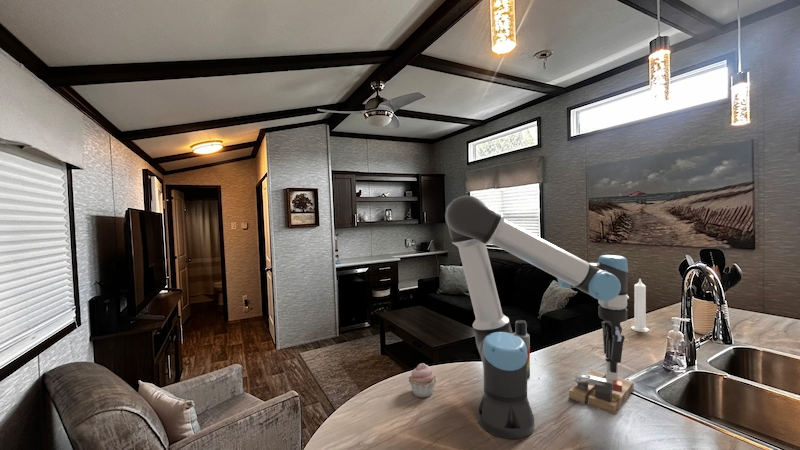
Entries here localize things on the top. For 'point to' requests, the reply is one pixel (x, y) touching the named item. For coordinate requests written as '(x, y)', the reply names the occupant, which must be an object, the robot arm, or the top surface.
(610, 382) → the latch arm
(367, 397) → the top surface
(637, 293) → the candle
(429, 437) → the top surface
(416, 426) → the top surface
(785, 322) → the top surface
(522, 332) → the lotion bottle
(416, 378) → the cupcake
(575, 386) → the door boards
